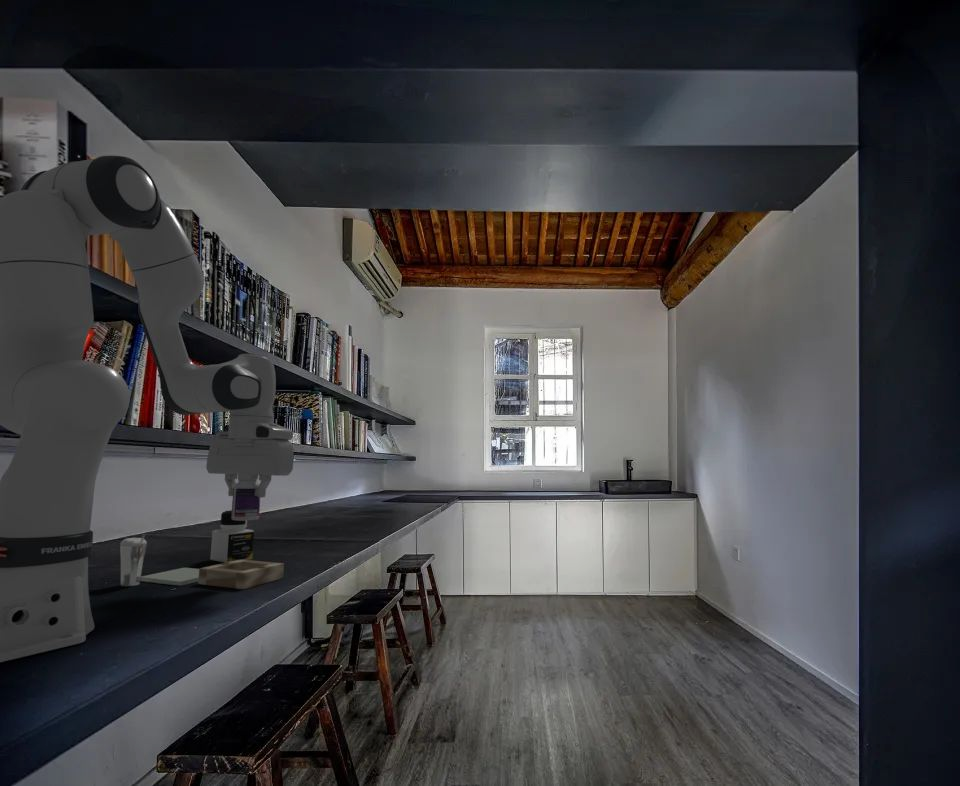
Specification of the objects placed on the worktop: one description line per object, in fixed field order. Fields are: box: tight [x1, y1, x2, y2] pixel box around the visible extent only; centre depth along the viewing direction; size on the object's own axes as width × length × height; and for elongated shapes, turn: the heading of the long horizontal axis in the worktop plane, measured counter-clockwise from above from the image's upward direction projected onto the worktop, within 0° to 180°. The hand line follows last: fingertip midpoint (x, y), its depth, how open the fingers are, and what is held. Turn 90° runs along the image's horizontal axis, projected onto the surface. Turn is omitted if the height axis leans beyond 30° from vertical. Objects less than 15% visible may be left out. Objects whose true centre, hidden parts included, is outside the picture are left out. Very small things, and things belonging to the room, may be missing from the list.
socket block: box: [197, 559, 285, 590], centre depth 118 cm, size 12×12×3 cm
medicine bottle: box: [209, 509, 255, 563], centre depth 142 cm, size 7×7×12 cm
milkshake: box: [119, 533, 148, 587], centre depth 113 cm, size 4×5×10 cm
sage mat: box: [140, 567, 199, 587], centre depth 119 cm, size 11×11×1 cm
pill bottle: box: [231, 473, 261, 522], centre depth 119 cm, size 5×5×10 cm
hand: (246, 496), depth 119 cm, fingers closed on pill bottle, 5 cm apart
